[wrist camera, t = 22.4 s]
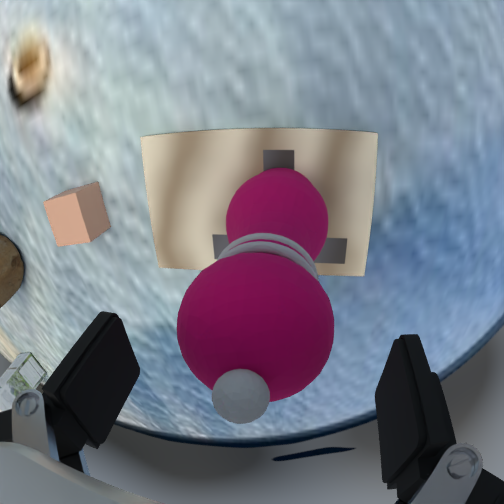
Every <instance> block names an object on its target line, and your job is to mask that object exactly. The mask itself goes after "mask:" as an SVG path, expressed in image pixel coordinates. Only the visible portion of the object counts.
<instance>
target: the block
mask: <svg viewBox="0 0 504 504" xmlns="http://www.w3.org/2000/svg"><path fill="white" fill-rule="evenodd" d="M23 272H24V267H23V262H22V260H21V257H20V254H19V252H18V250H17V248H16V247H15V246H14V244H13V243H12V242H11V241H10V240H9V239H8V238H6V237H5V236H2V235H0V308H1V307H2V306H3V305H4V304H5V303H6V302H7V301H8V300H9V299H10V298H11V297H12V296H13V295H14V294H15V293H16V291H18V289H19V288H20V286H21V283H22V279H23Z"/></svg>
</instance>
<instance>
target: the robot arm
mask: <svg viewBox="0 0 504 504" xmlns="http://www.w3.org/2000/svg"><path fill="white" fill-rule="evenodd" d="M139 374H140V367H139V365H138V362H137V360H136V357H135V355H134V352H133V349H132V347H131V344H130V342H129V339H128V336H127V333H126V331H125V328H124V325H123V322H122V320H121V319H120V318H119V317H118V315H117V314H115V313H110V312H104V311H102V312H100V313H99V314H98V315H97V317H96V318H95V319H94V320H93V322H92V323H91V324H90V325H89V327H88V328H87V329H86V330H85V332H84V333H83V334H82V335H81V337H80V338H79V339H78V341H77V342H76V343H75V344H74V346H73V347H72V348H71V350H70V351H69V352H68V354H67V355H66V356H65V358H64V359H63V360H62V362H61V363H60V364H59V366H58V367H57V368H56V370H55V371H54V372H53V374H52V375H51V376H50V378H49V379H48V381H47V382H46V383H45V385H44V386H43V388H42V390H43V391H44V392H43V394H41V393H40V392H39V391H37V390H35V389H27V390H24V391H22V392H21V393H19V394H18V395H17V396H16V398H15V399H14V401H13V403H12V409H9V410H6V411H2V412H0V504H164V503H161V502H157V501H154V500H151V499H148V498H144V497H141V496H139V495H136V494H133V493H130V492H127V491H124V490H122V489H119V488H116V487H114V486H112V485H109V484H106V483H104V482H102V481H99V480H97V479H95V478H93V477H90V473H89V470H88V466H87V463H86V460H85V455H84V451H83V446H84V445H85V444H87V445H89V446H91V447H93V448H96V449H98V448H99V446H100V444H102V443H104V442H105V440H106V438H107V436H108V434H109V432H110V430H111V428H112V426H113V425H114V423H115V421H116V419H117V417H118V415H119V413H120V411H121V409H122V407H123V405H124V403H125V401H126V400H127V398H128V396H129V394H130V392H131V390H132V388H133V386H134V384H135V383H136V381H137V379H138V377H139ZM375 403H376V411H377V421H378V430H379V441H380V453H381V468H382V480H383V482H384V483H387V489H397V497H398V498H399V499H398V500H397V501H396V502H395V504H504V481H502V480H501V479H499V478H498V477H496V476H494V475H493V474H491V473H489V472H488V471H486V470H484V469H483V468H482V467H483V459H482V456H481V454H480V452H479V451H478V450H477V448H475V447H474V446H473V445H470V444H467V443H458V444H457V443H456V439H455V435H454V431H453V427H452V423H451V419H450V415H449V411H448V408H447V404H446V401H445V397H444V394H443V390H442V387H441V384H440V381H439V378H438V375H437V374H436V373H435V372H431V371H430V367H429V364H428V361H427V358H426V355H425V352H424V349H423V346H422V343H421V340H420V338H419V336H418V335H417V334H408V335H401V336H400V337H399V339H395V340H394V342H393V345H392V348H391V351H390V354H389V356H388V359H387V362H386V365H385V367H384V370H383V373H382V375H381V378H380V381H379V383H378V386H377V388H376V392H375Z"/></svg>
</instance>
